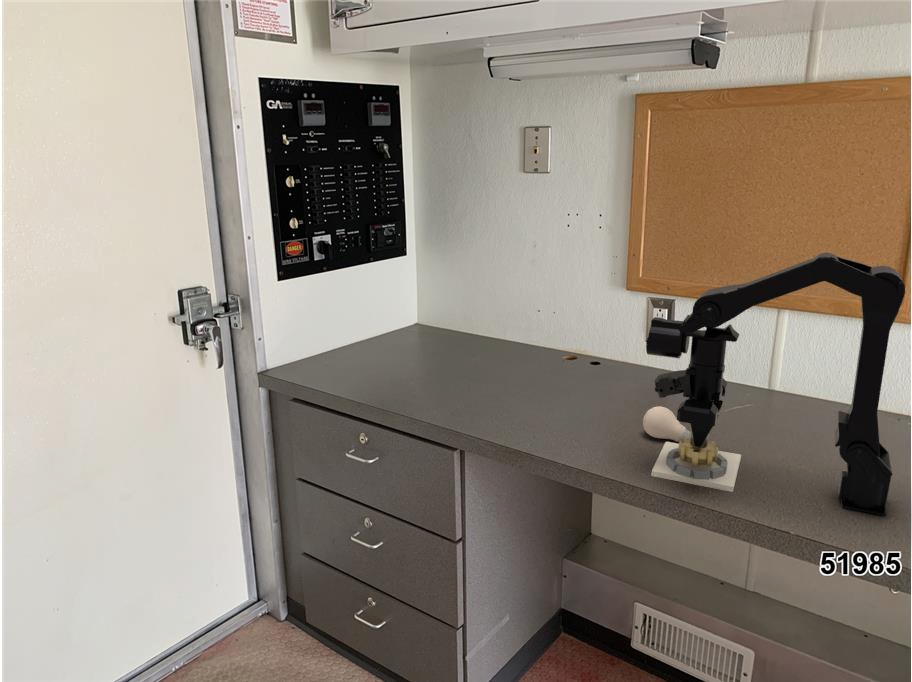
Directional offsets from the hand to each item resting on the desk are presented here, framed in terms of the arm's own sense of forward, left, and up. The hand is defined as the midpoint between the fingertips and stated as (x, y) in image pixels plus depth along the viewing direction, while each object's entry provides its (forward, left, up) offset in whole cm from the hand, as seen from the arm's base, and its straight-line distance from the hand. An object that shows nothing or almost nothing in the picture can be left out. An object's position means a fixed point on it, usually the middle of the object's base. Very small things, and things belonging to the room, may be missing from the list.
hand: (699, 442), depth 130 cm
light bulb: (+7, -12, -6) cm, 15 cm away
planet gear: (0, 0, -3) cm, 3 cm away
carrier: (0, -1, -6) cm, 6 cm away
